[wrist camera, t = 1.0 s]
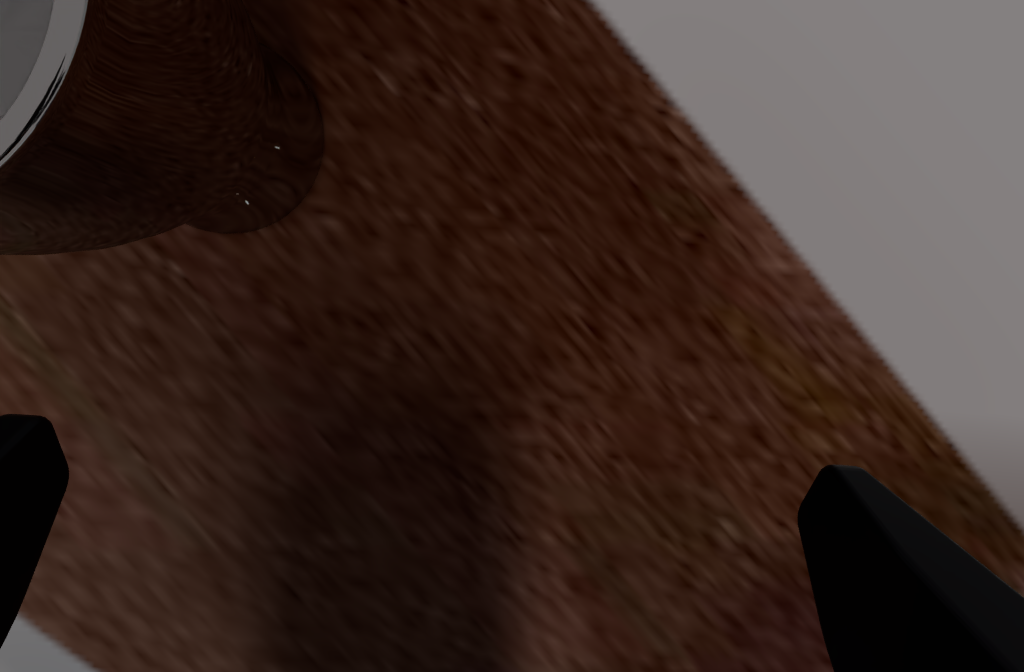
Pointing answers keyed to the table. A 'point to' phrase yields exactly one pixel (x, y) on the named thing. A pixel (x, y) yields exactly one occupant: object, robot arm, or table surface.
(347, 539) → the table surface
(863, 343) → the table surface
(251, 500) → the table surface
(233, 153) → the beer glass
